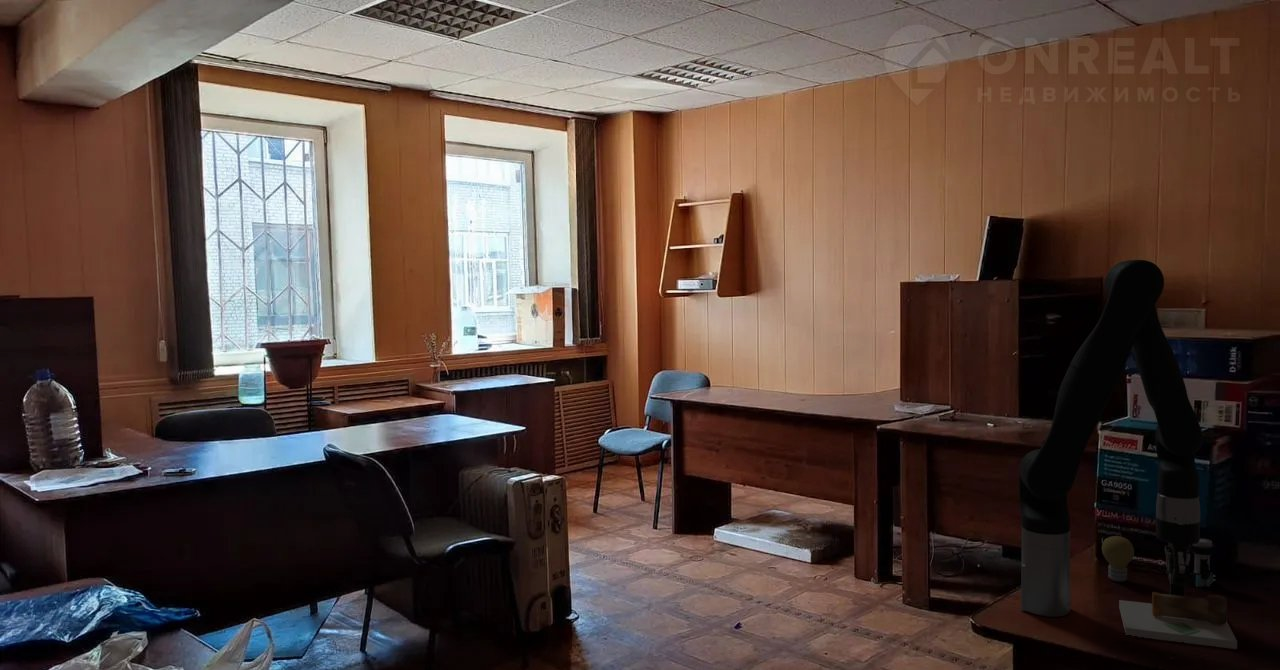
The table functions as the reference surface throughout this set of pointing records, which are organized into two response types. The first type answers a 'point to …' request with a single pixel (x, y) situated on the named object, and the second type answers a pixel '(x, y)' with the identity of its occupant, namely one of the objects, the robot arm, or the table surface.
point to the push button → (1202, 563)
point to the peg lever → (1190, 607)
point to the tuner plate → (1173, 627)
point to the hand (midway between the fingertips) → (1176, 601)
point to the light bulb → (1117, 556)
